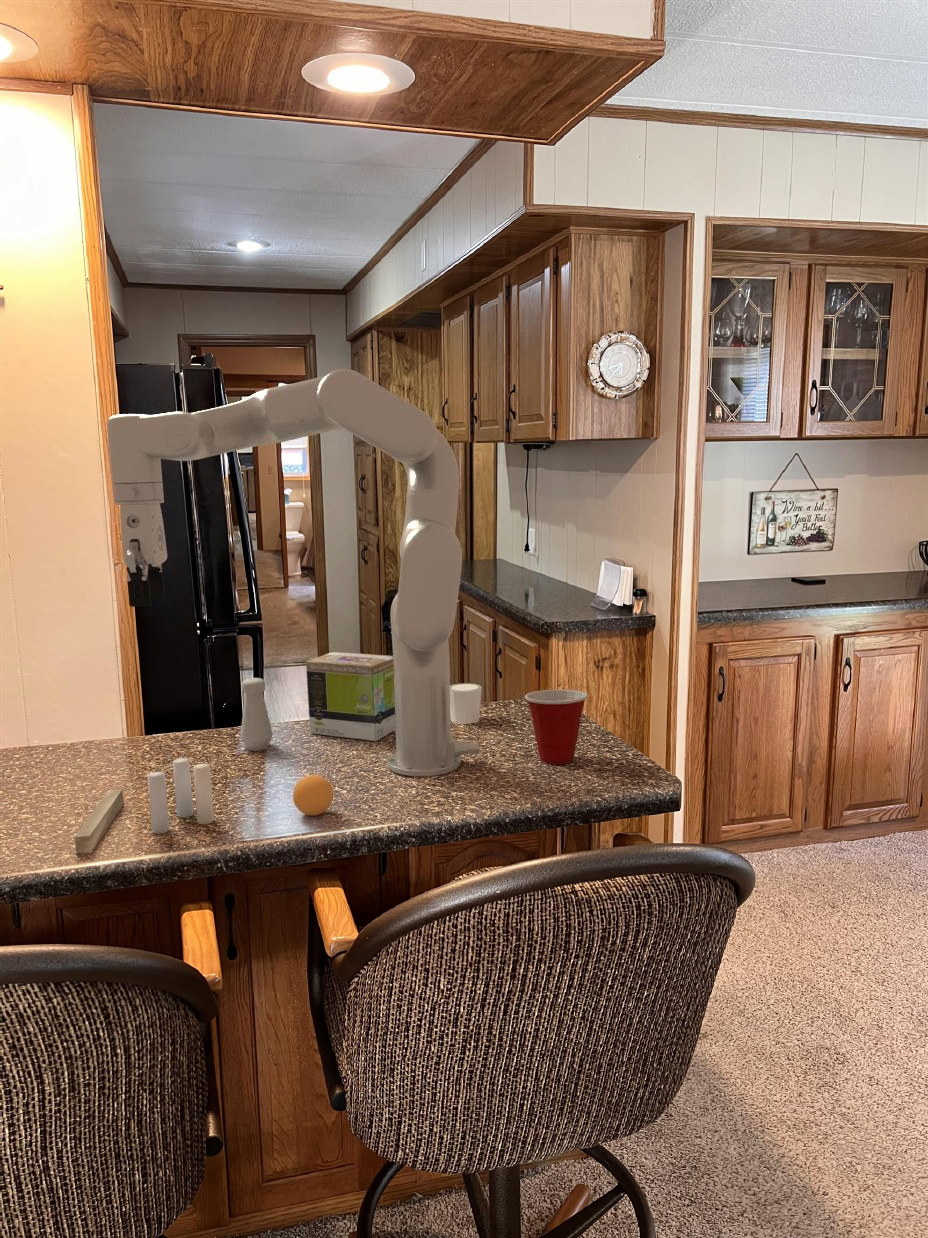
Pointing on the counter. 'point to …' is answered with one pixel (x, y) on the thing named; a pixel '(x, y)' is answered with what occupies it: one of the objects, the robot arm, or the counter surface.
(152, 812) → the pin
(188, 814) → the pin
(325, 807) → the ball
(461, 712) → the white cylinder
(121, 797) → the back rail
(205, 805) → the front pin
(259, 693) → the salt shaker
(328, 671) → the tea box
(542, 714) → the plastic cup
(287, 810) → the counter surface
